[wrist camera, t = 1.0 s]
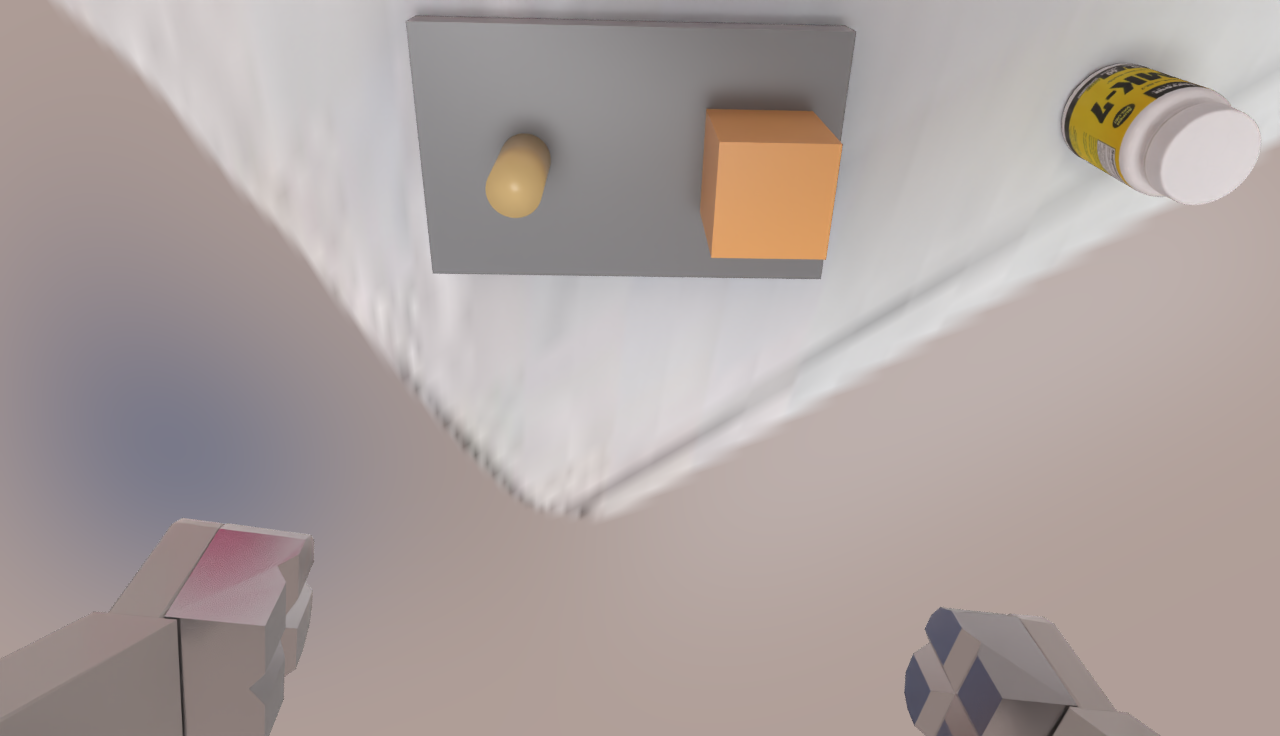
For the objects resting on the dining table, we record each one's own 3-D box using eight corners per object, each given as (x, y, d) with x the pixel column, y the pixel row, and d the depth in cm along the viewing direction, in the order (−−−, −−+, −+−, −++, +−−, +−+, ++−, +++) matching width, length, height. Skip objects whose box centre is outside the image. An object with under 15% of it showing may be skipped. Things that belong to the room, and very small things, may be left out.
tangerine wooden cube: (812, 111, 39) (842, 144, 33) (799, 213, 41) (826, 259, 36) (706, 108, 39) (719, 141, 33) (699, 212, 41) (711, 257, 36)
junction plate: (845, 25, 39) (887, 49, 33) (812, 264, 45) (843, 321, 39) (415, 15, 38) (376, 37, 32) (440, 258, 44) (411, 316, 38)
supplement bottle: (1139, 41, 39) (1257, 73, 32) (1169, 123, 41) (1287, 171, 34) (1043, 100, 41) (1136, 145, 33) (1077, 177, 43) (1172, 236, 35)
